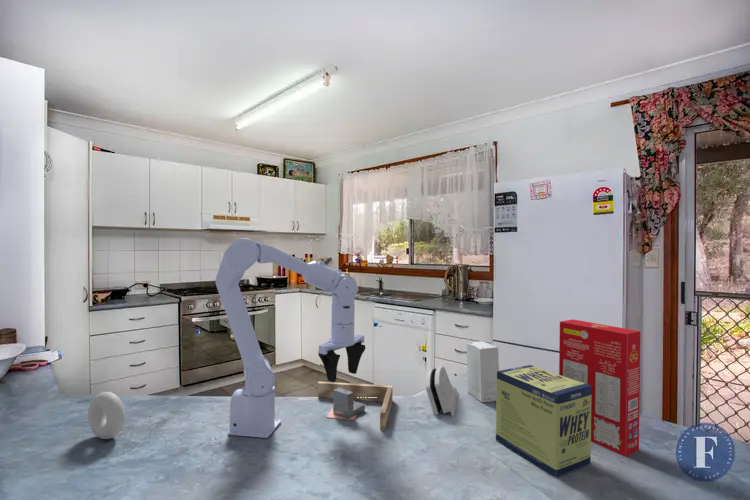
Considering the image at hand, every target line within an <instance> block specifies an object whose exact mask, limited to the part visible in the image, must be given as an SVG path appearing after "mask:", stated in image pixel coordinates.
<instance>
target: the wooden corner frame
mask: <svg viewBox="0 0 750 500" xmlns="http://www.w3.org/2000/svg"><path fill="white" fill-rule="evenodd" d="M393 387H394V386H393V385H385V384H384V385H382V384H378V385H377V384H366V383H350V382H336V381H335V382H331V381H318V382H317V392H316V393H317V394H316V396H317V398H322V399H324V398H325V399H333V390H334V389H337V388H342V389H345V390H348V391H351V392H354V398H353V401H368V402H371V401H372V402H382V406H381V409H380V412H379V430H380V431H386V428H387V424H388V421H389V417H390V412H391V408H392V403H393V392H394V391H393ZM357 397H359V398H357ZM360 397H362V398H360ZM363 397H364V398H363ZM365 397H367V398H365ZM368 397H377V398H368Z"/></svg>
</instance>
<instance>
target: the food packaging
mask: <svg viewBox="0 0 750 500" xmlns="http://www.w3.org/2000/svg"><path fill="white" fill-rule="evenodd" d="M641 332H642V331H640V330H636V329H629V328H624V327H619V326H613V325H607V324H601V323H596V322H591V321H583V320H578V319H573V318H572V319H568V320H561V321H559V349H558V350H559V351H558V353H559V355H558V356H559V357H558V358H559V360H558V365H559V366H558V367H559V368H558V375H561V376H564V377H567V378H570V379H573V380H576V381H579V382H582V383H585V384H588V385H591V386H592V390H591V392H592V393H591V441H592V443H593V442H594V444H596V445H598V446H600V447H602V448H604V449H607V450H609V451H612V452H614V453H616V454H619V455H621V456H623V457H626V458H627V457H628V456H630V455H633V454H634V453H636V452H637V450H638V451H639V450H640V407H641V406H640V405H641V404H640V402H641V401H640V399H641V398H640V394H641V393H640V391H641V390H640V389H641V336H642V335H641Z"/></svg>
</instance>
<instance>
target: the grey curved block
mask: <svg viewBox="0 0 750 500" xmlns="http://www.w3.org/2000/svg"><path fill="white" fill-rule="evenodd" d="M425 389H426V392H427V397H428V399H429V403H430V407H431V409H432V413H433V415H436V416H438V415H440V413H443V414H446V413H449V412H450V414H451V417H453V418H454V417H455V415H456V409H457V408H456V407H457V402H458V401H457V400H458V396H459V395H458V394H459V392H458V390H457V387H456V386H455V385H453V384H452V383H451V381H450V378H449V375H448V372H447V370H446V367H445V366H438V367H435V368H432V369H429V371H428V372H427V374H426V381H425Z"/></svg>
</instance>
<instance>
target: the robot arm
mask: <svg viewBox="0 0 750 500" xmlns="http://www.w3.org/2000/svg"><path fill="white" fill-rule="evenodd" d="M255 263H258V264H268V263H269V264H270V263H271V264H274V265H278V266H279V267H282V268H284V269H287V270H289V271H292V272H294V273H297V274H300V275H301V276H302V279H303V281H304V283H306V284H308V285H311V286H312V287H315V288H317V289H321V290H322V291H324V292H327V293H331V294H332V295H331V299H332V300H331V328H330V330H331V333H330V334H331V335H330V336H331V337H329V340H328V341H325V342H324V343H322V344H318V351H317V353H318V354H317V355H318V357H319V359H320V360H321V362H322V364H323V367H324V370H325V374H326V378H327V382H336V380H337V373H338V371H337V370H338V364H339V360H340V357H341V354H337V353H336V352H335V351H338V350H341V349H345V351H346V357H347V369H348V373H349V374H353V375H356V374H357V372H358V370H359V369H358V368H359V364H360V360H361V359H362V356H363V354H364V352H365V351H366V345H365V344H364V343H365V335H363V334H355V312H356V311H355V296H356V295H358V292H359V289H360V288H359V286H358V284H357V283H358V282H357V281H356V280H355V278H354V277H352V276H350V275H347V274H344V273H342V269H340V268H339V269H338V268H337V269H334V268H332V267H330V266H328V265H325V261H323V260H318V261H316V260H313V261H310V262H306V261H303V259H302V260H301V259H299V258H298V257H295V256H293V255H291V254H289V253H287V252H285V251H283V250H281V249H279V248H276V247H274V246H272V245H270V244H265V243H264V242H263V243H262V242H260V241H259V242H258V241H256V242H254V240H252V239H251V238H247V237H246V238H245V237H241V238H238V239H235V240H234V241H233V242H231V244H230V245H228V247H227V249H226V250H225V251H224V253H223V256H222V259H221V261H220V264H219V267H218V271H217V274H216V277H215V280H214V281H215V286H216V289H217V292H218V294H219V297H220V300H221V303H222V305H223V310H224V311H225V315H226V317H227V320H228V323H229V325H230V329H231V332H232V335H233V338H234V340H235V343H236V346H237V348H238V351H239V355H240V357H241V361H242V364H243V376H244V379H245V381H244V386H243V387H242V388H238V389H236V390H235V391H234V392H233V394H232V395H231V398H230V403H229V430H228V432H227V435H228V436H238V437H250V438H251V437H252V438H262V439H267V438H269V437H270V436H271V435H272V433H273V432H275V430H276V429H277V428H278V427H279V425H280V424H281V423H282V420H281V419H275V418H276V417H275V416H276V415H275V414H276V413H275V412H276V410H275V409H276V408H275V407H276V406H275V404H276V400H275V399H276V395H275V394H276V392H275V390H276V389H275V388H276V387H275V383H276V382H275V381H276V376H275V373H274V372H273V371H272V370H273V369H272V367H271V363H270V361H269V360H268V359H267V358H266V357H265V356H264V355H263V352H262V350H261V347H260V344H259V339H258V338H257V335H256V332H255V329H254V326H253V323H252V320H251V318H250V315H249V311H248V309H247V306H246V303H245V300H244V297H243V294H242V291H241V288H240V285H239V283H240V282H241V280H242V278H243V277H244V274H245V273H246V271H247V270H248V269H249V270H250V268H251V267H253V265H255Z"/></svg>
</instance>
